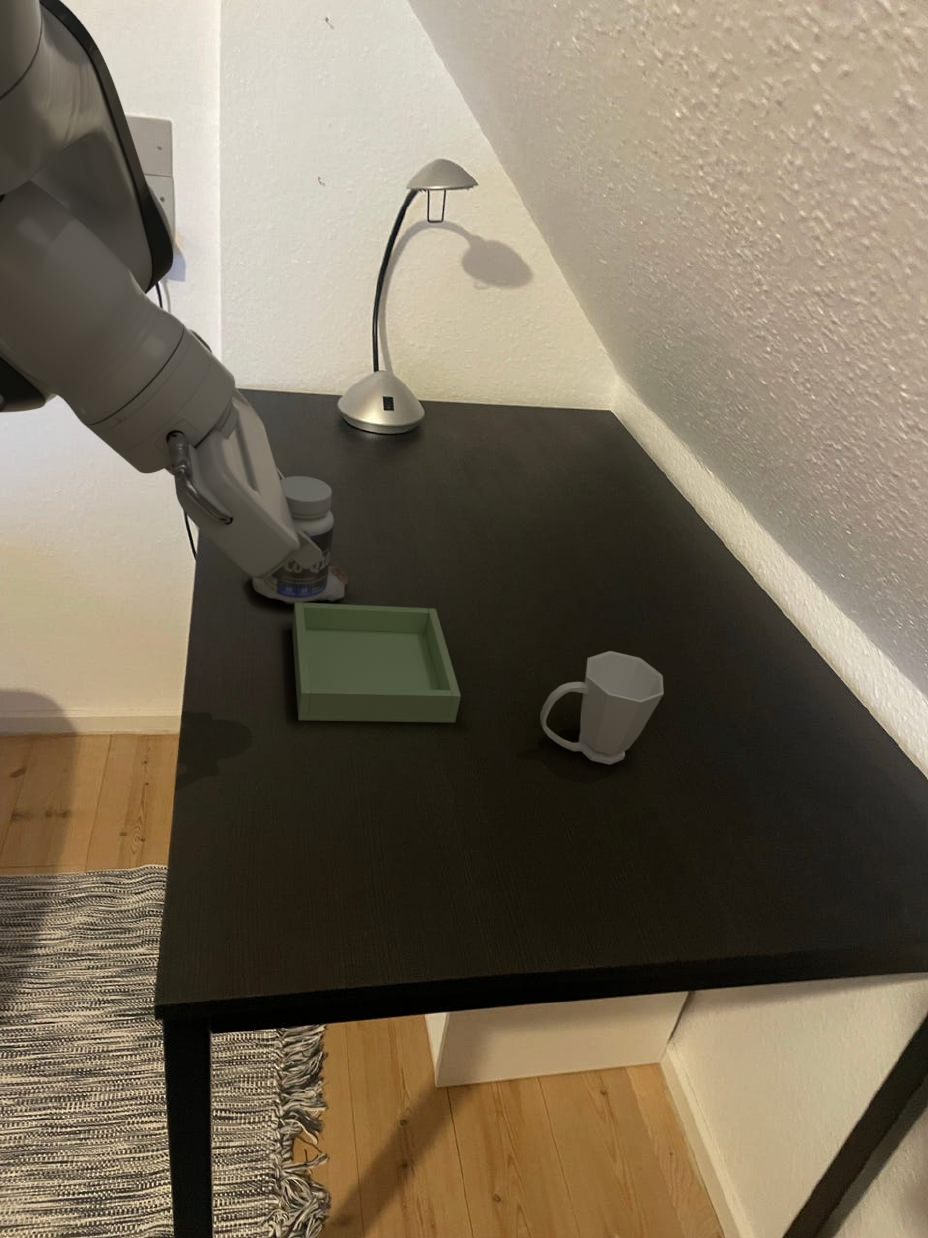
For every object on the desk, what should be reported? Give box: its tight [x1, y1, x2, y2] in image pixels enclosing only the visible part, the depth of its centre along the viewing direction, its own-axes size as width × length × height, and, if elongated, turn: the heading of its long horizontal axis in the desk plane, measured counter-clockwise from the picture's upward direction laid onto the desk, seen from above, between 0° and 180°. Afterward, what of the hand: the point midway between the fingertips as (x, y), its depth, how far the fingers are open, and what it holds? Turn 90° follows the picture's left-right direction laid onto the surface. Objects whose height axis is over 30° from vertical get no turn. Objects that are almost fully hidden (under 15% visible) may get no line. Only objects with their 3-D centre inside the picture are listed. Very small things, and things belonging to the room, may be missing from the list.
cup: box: [539, 650, 665, 766], centre depth 81 cm, size 7×10×8 cm
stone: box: [250, 565, 349, 605], centre depth 95 cm, size 10×7×3 cm
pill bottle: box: [264, 475, 335, 603], centre depth 69 cm, size 5×5×8 cm
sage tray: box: [291, 602, 462, 723], centre depth 86 cm, size 14×14×3 cm
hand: (307, 536), depth 69 cm, fingers closed on pill bottle, 5 cm apart
